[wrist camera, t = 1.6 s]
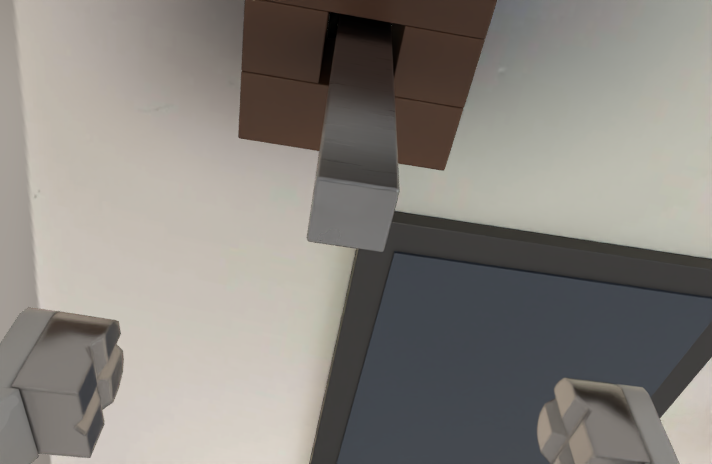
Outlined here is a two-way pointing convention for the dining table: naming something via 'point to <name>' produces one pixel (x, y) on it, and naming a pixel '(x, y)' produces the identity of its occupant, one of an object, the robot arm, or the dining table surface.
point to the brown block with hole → (314, 62)
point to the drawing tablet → (499, 339)
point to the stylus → (357, 141)
